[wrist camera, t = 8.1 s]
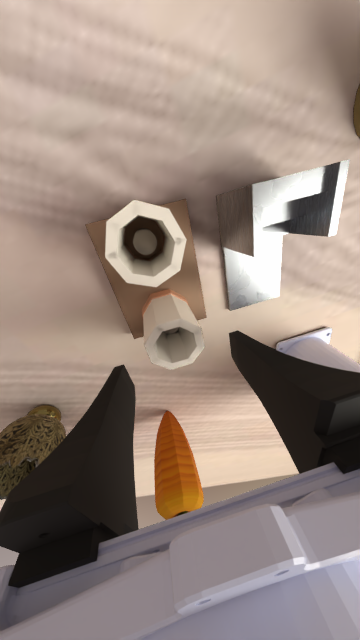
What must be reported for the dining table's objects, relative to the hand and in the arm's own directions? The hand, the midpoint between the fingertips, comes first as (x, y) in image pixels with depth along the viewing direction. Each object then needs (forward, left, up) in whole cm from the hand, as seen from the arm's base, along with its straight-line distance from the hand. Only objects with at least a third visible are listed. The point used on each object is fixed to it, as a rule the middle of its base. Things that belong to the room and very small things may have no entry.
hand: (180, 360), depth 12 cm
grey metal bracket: (+3, -10, -9) cm, 14 cm away
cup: (-9, +18, -9) cm, 22 cm away
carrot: (-16, +4, -9) cm, 19 cm away
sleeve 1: (+7, 0, -8) cm, 10 cm away
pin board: (+4, 0, -9) cm, 9 cm away
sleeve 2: (0, 0, -8) cm, 8 cm away
